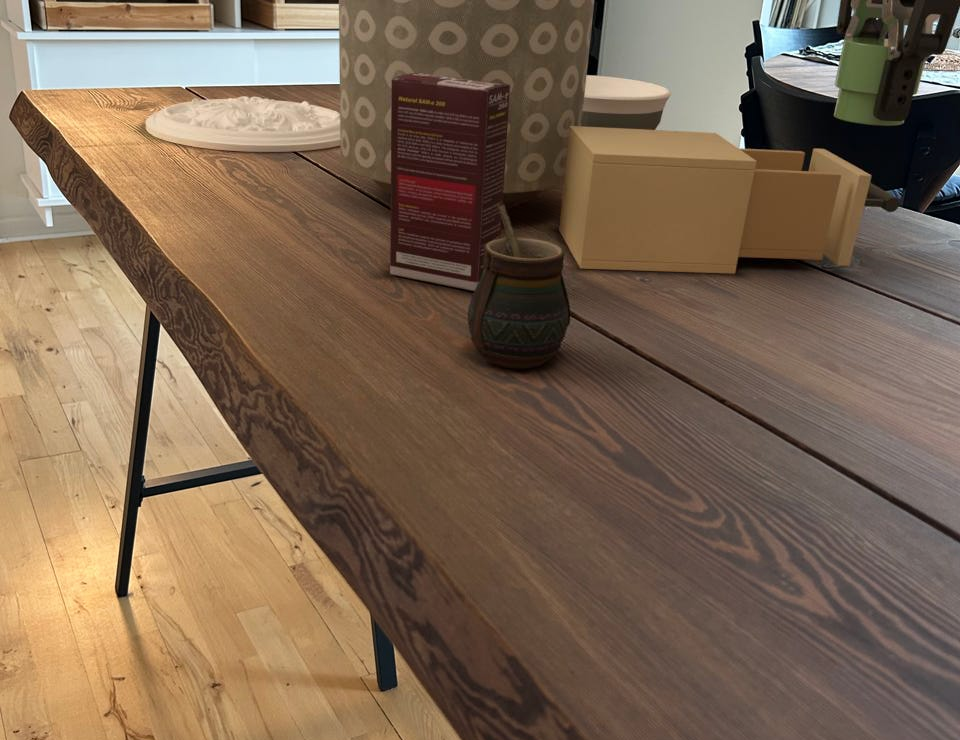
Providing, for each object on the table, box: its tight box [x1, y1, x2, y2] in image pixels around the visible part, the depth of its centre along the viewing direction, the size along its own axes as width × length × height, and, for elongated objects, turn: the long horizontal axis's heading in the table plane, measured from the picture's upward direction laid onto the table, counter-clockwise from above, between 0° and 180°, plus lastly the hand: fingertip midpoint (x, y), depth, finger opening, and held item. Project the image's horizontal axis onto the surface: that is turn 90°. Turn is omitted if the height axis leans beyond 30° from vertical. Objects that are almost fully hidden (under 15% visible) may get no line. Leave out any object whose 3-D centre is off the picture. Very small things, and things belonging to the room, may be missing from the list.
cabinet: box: [558, 126, 757, 275], centre depth 97 cm, size 15×13×10 cm
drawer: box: [737, 147, 900, 267], centre depth 99 cm, size 18×11×8 cm, turn 95°
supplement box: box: [389, 73, 510, 292], centre depth 85 cm, size 9×5×16 cm, turn 65°
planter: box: [338, 0, 595, 210], centre depth 105 cm, size 25×25×24 cm
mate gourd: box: [467, 204, 571, 370], centre depth 72 cm, size 7×8×10 cm
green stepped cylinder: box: [833, 37, 926, 127], centre depth 72 cm, size 6×6×5 cm
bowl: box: [581, 74, 672, 130], centre depth 139 cm, size 19×19×8 cm
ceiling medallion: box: [145, 95, 340, 153], centre depth 138 cm, size 28×28×3 cm
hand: (870, 110), depth 73 cm, fingers closed on green stepped cylinder, 5 cm apart
